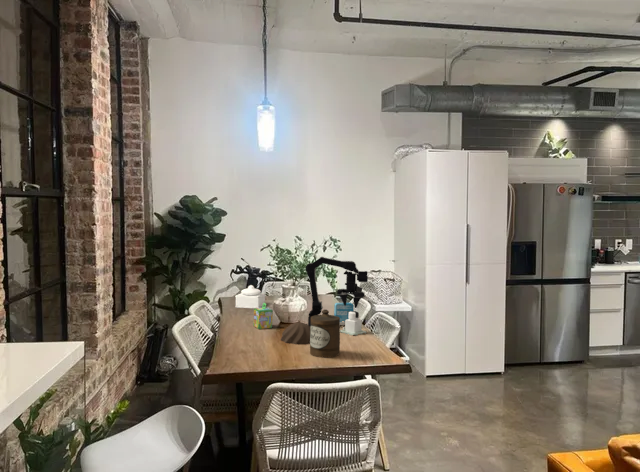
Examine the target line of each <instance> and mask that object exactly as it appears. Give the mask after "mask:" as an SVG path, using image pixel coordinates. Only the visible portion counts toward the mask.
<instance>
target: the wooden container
mask: <svg viewBox="0 0 640 472" xmlns="http://www.w3.org/2000/svg"><path fill="white" fill-rule="evenodd" d="M340 328H341V326H340V318H339V317H338V316H334V315H331V314H329V310H328V309H322V311H321V314H319V315H315V316H312V317H311V333H310V343H309V353H310V355H312V356H313V357H318V358H334V357H337V356H338V357H339V355H340V351H341V350H340V349H341V348H340V347H341V332H340V330H341V329H340Z"/></svg>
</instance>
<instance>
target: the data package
mask: <svg viewBox="0 0 640 472" xmlns="http://www.w3.org/2000/svg"><path fill="white" fill-rule="evenodd" d="M333 310H334V311H333V314H334V316H338V317H339V318H340V322H342V321H345V320H347V319H349V318H348V316H349V312H350V311H354V310H355V306H354V303H352V302H346V306H344V304H343V302H335V303H334V309H333Z"/></svg>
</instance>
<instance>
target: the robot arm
mask: <svg viewBox="0 0 640 472" xmlns="http://www.w3.org/2000/svg"><path fill="white" fill-rule="evenodd" d="M323 264H324V265H329V266H332V267H338V268H341V269H344V270H345V271H344V272H343V275H346V279H345V280H346V282H344V286H345V288H339V289H337V292H336V294H338V296H339V297H340V300H341V301H342V303H343V304H344V306H346V303H347V302H348V301H347V298H348V296H349V295H352V296H353V297H352V299H353V305H354V309H357V308H358V305H359V302H360V300H361V299H363V298H364V297H365V293H364V291H363V287H361V286H358V283H368V280H369V276H368V271H367V270H364V271H363V270H361V271H359V269H358V268H357V264H356V262H354V261H353V260H338V259H334V258H333V259H332V258H328V257H324V256H320V257H319V258H317V260H315V261H313V262H309V263H307V264H306V266H305V272H306V275H307V276H308V279H309V286H310V292H311V298H312V302H311V303H312V305H311V310H310V311H309V312H308V316H307V317H308V318H307V325H308V326H310V327H311V317H312V316H315V315H321V314H322V311H323V308H324V307H323V301H322V300H321V301H320V299H319V293H318V286H317V279H316V273H317V272H316V270H317V268H319V266H321V265H323ZM356 281H358V283H357V282H356Z"/></svg>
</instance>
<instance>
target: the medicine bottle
mask: <svg viewBox="0 0 640 472" xmlns="http://www.w3.org/2000/svg"><path fill="white" fill-rule="evenodd" d="M359 313H360V312H358V311H356V310H355V311H350V312H349V316H348V318H349V319H347V320H345V325H344V327H345V331H346V332H350V333H358V332H361V330H362V321H363V320H362V319H360V317H359V315H360V314H359Z"/></svg>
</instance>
